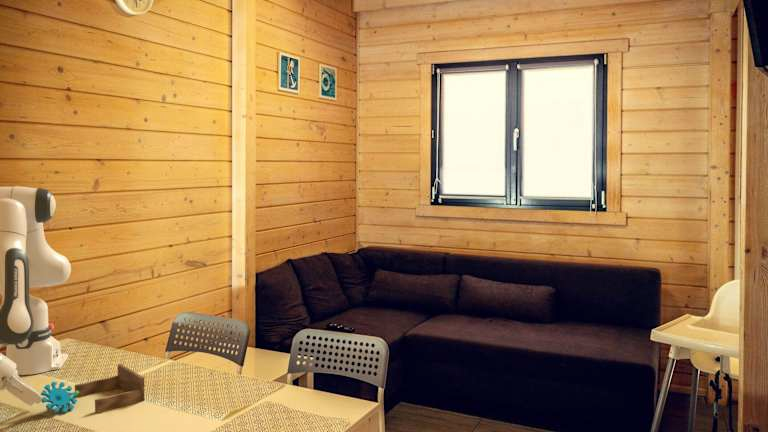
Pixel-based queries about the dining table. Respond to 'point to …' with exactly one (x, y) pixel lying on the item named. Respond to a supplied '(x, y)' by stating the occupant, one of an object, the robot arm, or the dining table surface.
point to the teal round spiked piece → (59, 397)
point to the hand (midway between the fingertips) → (39, 400)
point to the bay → (124, 380)
